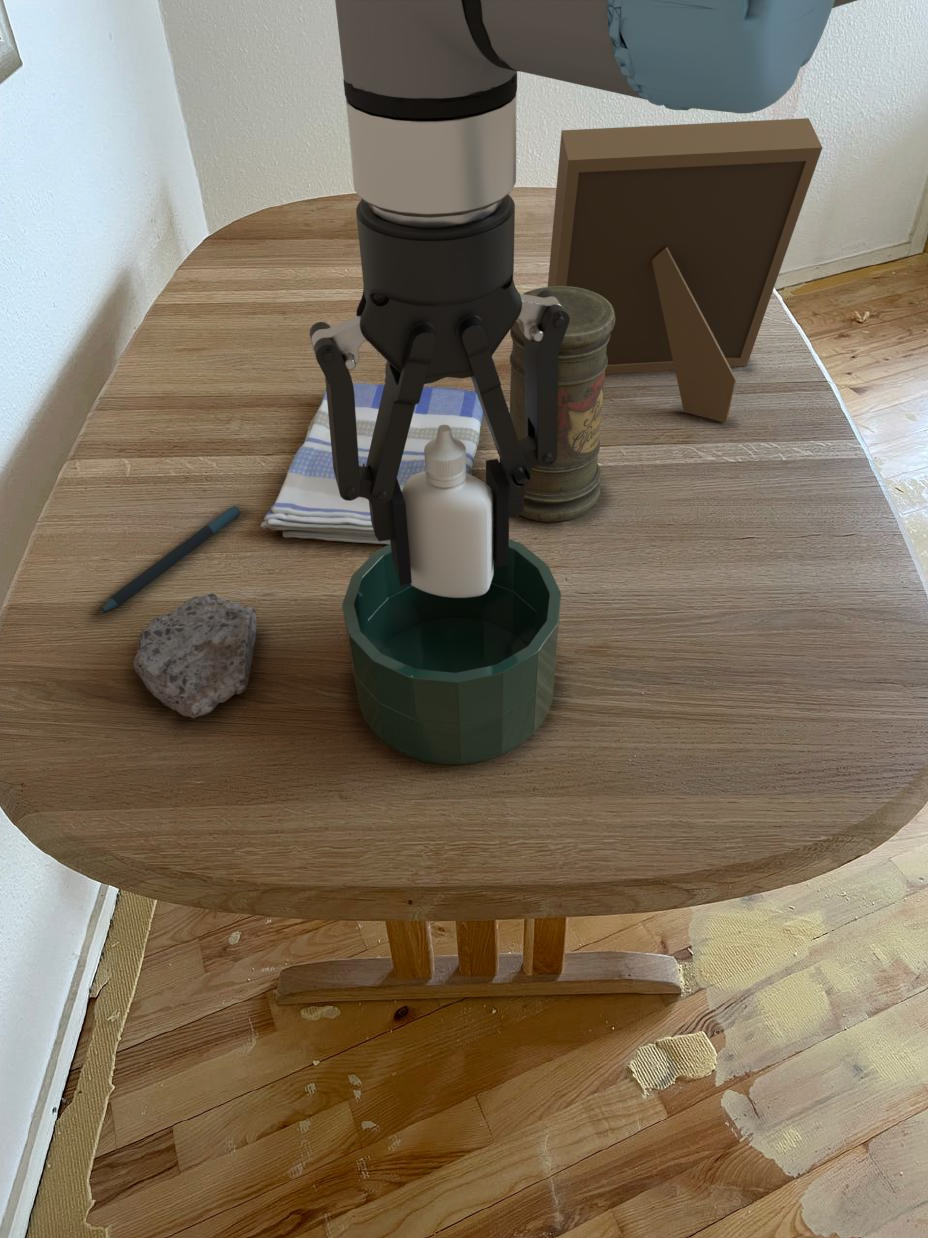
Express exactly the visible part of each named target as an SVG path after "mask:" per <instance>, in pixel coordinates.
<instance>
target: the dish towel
mask: <svg viewBox="0 0 928 1238" xmlns="http://www.w3.org/2000/svg"><path fill="white" fill-rule="evenodd" d="M353 387H354V396H355V412H356V427H357V443H358V458H359V466H363V464H365V467H366V463H367V459H368V454H369V450H370V446H371V441H372V437H373V432H374V428H375V424H376V419H377V415H378V410H379V406H380V401H381V397H382V393H383V388H384V384H377V383H362V382H353ZM322 396H323V397H322V399H321V403H320V405H319V408H318V409H317V410H316V413H315V415H314V416H313V418H312V419H311V421H310V422H309V425H308V428H307V432H306V435H305V440H304V442H303V444H302V445H301V446H300V447H299V449H298V450H297V451H296V453H295V455H294V456H293V459H292V460H291V462H290V465H289V469H288V470H287V472H286V477H285V479H284V482H283V483H282V486H281V489H280V491H279V493H278V496H277V498H276V500H275V501H274V504H273V505H272V506H271V507H270V510H269V511H268V512H267V513H266V514H265V515H264V518H263V521H262V522H261V524H260V528H261V529H269V530H271V531H282V537H284V538H298V539H304V540H305V539H312V540H313V539H315V540H323V541H328V542H330V541H331V542H344V543H356V544H358V543H359V544H375V545H390V544H391V542H390V540H385V541H380V542H379V541H378V539H377V538H376V536H375V533H374V530H373V526H372V523H371V516H370V508H369V500H368V499H366V498H363V497H358V498H356V499H355V500H351V501H347V500H344V499H343V498H342V497H341V496H340V493H339V489H338V485H337V482H336V478H335V474H334V470H333V460H332V448H331V437H330V426H329V415H328V404H327V393H326V388H325V390H324V393H323V395H322ZM483 415H484V413H483V410H482V407H481V404H480V401H479V399H478V396H477V393H476V391H471V390H467V389H466V390H465V389H457V388H451V387H436V386H423V390H422V394H421V398H420V401H419V403H418V404H416V405H415V409H414V413H413V417H412V420H411V424H410V428H409V432H408V436H407V440H406V444H405V448H404V452H403V456H402V460H401V464H400V467H399V471H398V475H397V479H398V482H399V485H400V488H401V491H402V490H403V487H404V485H405V483H406V481H407V480H408V479H409V478H410V477H411V476H413V475H415V474H417V473H420V472H424V471H425V455H424V448H425V446H426V445H427V443H429V442H430V441H431V440H433V439H436V437H437V431H438V427H439V426H441V425H448V426H449V427H450V429H451V433H452V437H453V438H456V439H458V440H460V441H461V442H462V443H463V444H464V445H465V448H466V473H468V474H470V475H472V474H473V466H474V461H475V455H476V452H477V450H478V447H479V443H480V432H481V425H482V421H483Z"/></svg>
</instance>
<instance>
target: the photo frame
mask: <svg viewBox="0 0 928 1238" xmlns="http://www.w3.org/2000/svg"><path fill="white" fill-rule="evenodd" d="M560 133H561V134H560V143H559V155H558V164H557V165H558V167H557V176H556V177H557V178H556V188H555V189H556V190H555V200H554V212H553V222H552V233H551V245H550V255H549V267H548V278H547V287H552V286H570V287H577V288H582V289H586V290H589V291H592V292H595V293H597V294H599V295H601V296H602V297H604V298H605V299H607V300H608V301H609V302H610V304H611V305H612V307H613V309H614V313H615V325H614V327H613V329H612V331H611V332H610V339H609V341H608V343H607V348H606V355H607V359H608V362H607V366H606V368H605V375H617V374H632V373H633V374H634V373H648V372H650V373H651V372H653V373H654V372H666V371H667V372H668V371H674V372H675V376H676V381H677V387H678V391H679V396H680V400H681V406H682V410H683V413H687V414H691V415H695V416H699V417H705V418H708V419H713V420H716V421H721V422H724V423H726V422H728V419H729V413H730V410H731V405H732V400H733V396H734V391H735V388H736V383H737V377H736V375H735V373H734V372H733V370H732V368H734V367H735V368H736V367H747V366H748V363H749V361H750V358H751V355H752V352H753V349H754V347H755V343H756V341H757V337H758V336H759V335H758V334H759V332H760V329H761V326H762V323H763V321H764V318H765V315H766V311H767V308H768V306H769V303H770V300H771V297H772V295H773V291H774V288H775V285H776V282H777V280H778V277H779V274H780V272H781V268H782V266H783V262H784V260H785V256H786V254H787V251H788V249H789V246H790V242H791V240H792V237H793V234H794V231H795V228H796V225H797V223H798V219H799V217H800V214H801V211H802V208H803V205H804V202H805V199H806V197H807V194H808V191H809V188H810V185H811V182H812V179H813V177H814V174H815V170H816V168H817V164H818V162H819V159H820V156H821V153H822V150H823V145H822V143H821V141H820V139H819V137H818V134H817V133H816V130H815V129H814V126H813V124H812V122H811V120H810V117H807V118H806V117H805V118H786V119H785V118H784V119H765V120H764V119H763V120H748V121H747V120H745V121H744V120H743V121H726V122H724V121H722V122H721V121H720V122H704V123H703V122H702V123H683V124H664V125H661V124H660V125H644V126H643V125H641V126H623V127H622V126H621V127H620V126H619V127H603V128H602V127H601V128H599V127H598V128H582V129H581V128H580V129H579V128H578V129H562V130H561V132H560Z"/></svg>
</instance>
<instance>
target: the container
mask: <svg viewBox="0 0 928 1238" xmlns="http://www.w3.org/2000/svg"><path fill="white" fill-rule="evenodd" d="M544 290H549V291H552V292H553V293H554V295H555V296H556V297H557V299H558V300H559V302H560V303H561V304H562V306H563V307H564V309H565V310H566V312H567V313H568V315H569V318H570V321H569V325H568V328H567V330H566V333H565V336H564V338H563V341H562V344H561V347H560V349H559V352H558V440H557V460H556V461H555V462H554V463H553V464H552V465H550V466H545V467H544V466H541V465H538V466H535V467H533V468H532V469H530V470H529V472H530V474H531V476H532V480H531V482H530V483H529V484H528V485H527V486H526V487H525V494H524V510H523V512H522V514H521V516H522V517H523V518H526V519H529V520H533V521H538V522H547V523H549V522H550V523H553V522H555V523H556V522H564V521H569V520H573V519H576V518H579V517H581V516H583V515H585V514H586V513H588V512H589V511H590V510H591V509H592V508H593V507H595V505H596V503H597V501H598V499H599V497H600V494H601V482H600V480H601V474H602V472H601V468H600V466H599V464H598V459H599V453H600V450H601V442H600V433H601V420H602V409H603V408H602V407H603V399H604V388H605V380H606V379H605V377H606V374H605V368H606V366H607V362H608V359H607V355H606V348H607V343H608V341H609V339H610V332H611V331H612V329H613V327H614V325H615V313H614V309H613V307H612V305H611V304H610V302H609V301H608V300H607V299H605V298H604V297H602V296H601V295H599V294H597V293H595V292H592V291H589V290H586V289H582V288H577V287H570V286H552V287H548V286H545V287H538V288H535V289H531V290H528V291H526V292H523V293H522V294H525V295H531V296H537V295H538V294H539V293H540V292H541V291H544ZM509 334H510V338H511V341H512V347H511V353H510V355H509V365H510V380H509V381H510V385H509V389H510V390H509V413H510V416H511V419H512V422H513V425H514V428H515V431H516V434H517V437H518V440H521V439H523V438H525V437H526V414H525V362H524V334H523V332H522V331H521V329H520V327H519V319H517V320H516V322H515V323H514V325H513V326H512V328H511V329H510V330H509Z"/></svg>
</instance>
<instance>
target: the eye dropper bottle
mask: <svg viewBox="0 0 928 1238" xmlns="http://www.w3.org/2000/svg"><path fill="white" fill-rule="evenodd" d="M424 455H425V471H424V472H420V473H417V474H415V475H413V476H411V477H410V478H409V479H408V480H407V481H406V483H405V485H404V487H403V490H402V494H403V497H404V500H405V504H406V517H407V529H408V541H409V554H410V566H411V578H412V583H411V585H412V586H414V587H416V588H418V589H420V590H422V591H425V592H427V593H430V594H434V595H438V596H444V597H452V598H467V597H476V596H481V595H483V594H485V593H486V592H487V591H488V590H489V587H490V585H491V581H492V578H493V564H494V505H493V493H492V489H491V488H490V487H489V486H488V485H487V484H486V482H484V480H481V479H479V478H478V477H476V476H474V475H472V474H471V475H470V474H468V473H466V448H465V445H464V444H463V443H462V442H461V441H460V440H458V439H456V438H453V437H452V433H451V429H450V427H449V426H448V425H441V426H439V427H438V431H437V437H436V439H433V440H431V441H430V442H429V443H427V445H426V446H425V448H424Z"/></svg>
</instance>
